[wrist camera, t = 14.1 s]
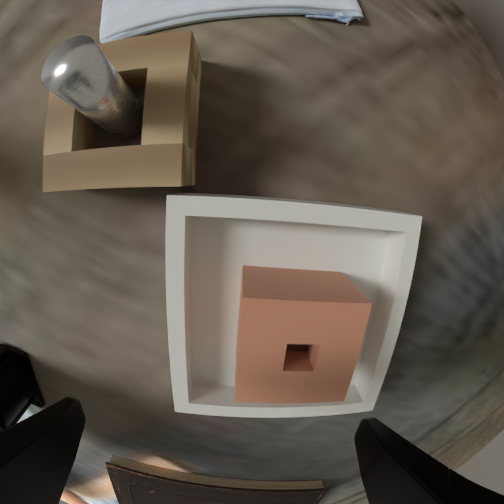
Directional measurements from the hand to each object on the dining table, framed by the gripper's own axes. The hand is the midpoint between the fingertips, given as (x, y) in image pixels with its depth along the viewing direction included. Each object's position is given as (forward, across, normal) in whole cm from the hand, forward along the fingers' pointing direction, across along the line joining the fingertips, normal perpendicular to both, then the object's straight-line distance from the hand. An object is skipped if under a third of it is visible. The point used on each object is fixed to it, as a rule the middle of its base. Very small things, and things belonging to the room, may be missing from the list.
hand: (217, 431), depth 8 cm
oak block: (+12, +7, -10) cm, 17 cm away
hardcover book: (+12, +1, +29) cm, 31 cm away
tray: (+12, -4, +1) cm, 12 cm away
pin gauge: (+10, +6, -10) cm, 16 cm away
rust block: (+11, -4, +1) cm, 11 cm away
